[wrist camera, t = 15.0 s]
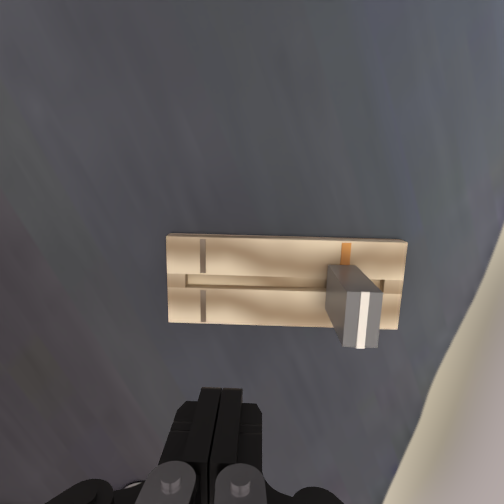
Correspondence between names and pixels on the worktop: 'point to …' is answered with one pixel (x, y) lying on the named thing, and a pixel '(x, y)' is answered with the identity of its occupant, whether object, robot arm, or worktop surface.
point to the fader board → (273, 277)
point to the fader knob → (353, 306)
